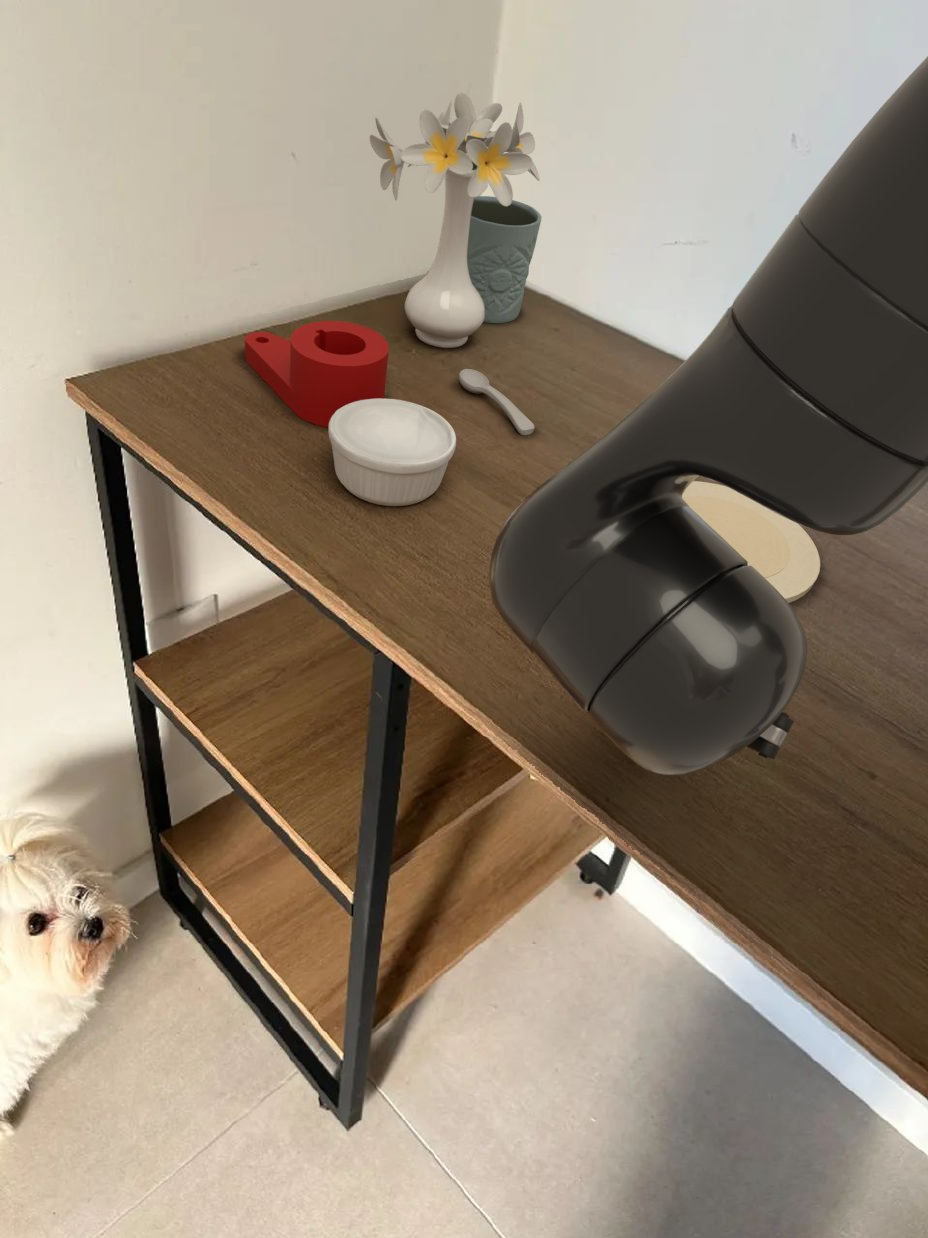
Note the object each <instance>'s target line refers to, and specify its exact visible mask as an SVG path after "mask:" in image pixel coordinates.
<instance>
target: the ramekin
mask: <svg viewBox="0 0 928 1238" xmlns="http://www.w3.org/2000/svg"><path fill="white" fill-rule="evenodd" d="M328 437H329V441H330V443H331V450H332V457H333V463H334V471H335V474H336V477H337V479H338V480H339V482H340V484H341V485H343V487H344V488H345V489H346V490H347V491H348V492H349V493H350V494H352V495H353V496H355V497H357V498H359V499H360V500H363V501H365V502H368V503H371V504H375V505H379V506H385V507H404V506H410V505H415V504H417V503H420V502H422V501H424V500H427V499H428V498H429V497H431V496H432V495H434V494H435V492H436V491H437V490H438V489H439V487H440V485H441V483H442V480H443V478H444V476H445V473H446V470H447V467H448V465H449V462H450V460H451V459H452V458H453V456H454V454H455V452H456V446H457V436H456V432H455V430H454V428H453V426H452V425H451V423H450V422H448V421H447V419H446V418H444V416H442V415H440V414H439V413H438V412H436V411H434V410H432V409H430V408H428V407H425V406H424V405H420V404H418V403H414V402H411V401H407V400H403V399H396V398H384V399H381V398H378V399H366V400H360V401H356V402H353V403H350V404H347V405H345V406H343V407H341V408H340V409H338V410H337V411H336V412H335V413H334V414H333V415H332V417H331V419H330V422H329V428H328Z"/></svg>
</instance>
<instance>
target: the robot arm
mask: <svg viewBox="0 0 928 1238" xmlns="http://www.w3.org/2000/svg"><path fill="white" fill-rule="evenodd" d="M814 188H815V189H813V191H812V192H811V193H810V195H809V197H808V198H807V199H806V200H805V202H804V203H803V205H802V206H801V207H800V208H799V210H798V213H797V214H794V216H793V218H792V220H791V221H790V222H789V224H788V225H787V227H786V228H785V229H784V231H783V232H782V233H781V234H780V236H778V239H777V240H776V241H775V243H774V244H773V245H772V247H771V248H770V250H769V251H768V252H767V254H766V255H765V257H764V258H763V260H761V262H760V263H759V265H758V266H757V267H756V269H755V271H754V272H753V274H751V276H750V278H748V280H747V281H746V283H745V284H744V285H743V287H742V288H741V290H740V291H739V293H738V294H737V295H736V297H735V298H734V300H733V302H732V304H731V305H730V306H729V307H728V308H727V309H726V311H725V312H724V314H723V315H722V316H721V318H720V319H719V321H718V322H717V323H716V325H715V326H714V327H713V328H712V330H711V331H710V332H709V334H708V335H707V336H706V337H705V338H704V340H703V341H702V342H701V344H699V346H698V347H697V348H696V349H695V350H694V351H693V352H692V353H691V354H690V355H689V356H688V358H687V359H685V360H684V362H683V363H682V364H681V365H680V366H678V367H677V369H676V370H675V371H674V372H672V374H671V375H669V376H668V378H666V380H664V381H663V382H662V383H661V384H660V385H659V386H658V387H657V388H656V389H655V390H654V391H653V392H651V394H650V395H649V396H648V397H647V398H646V399H644V400H643V401H642V402H641V403H640V404H639V405H638V406H637V407H636V408H634V409H633V410H632V411H631V412H630V413H629V414H628V415H627V416H626V417H625V418H623V419H622V420H621V421H620V422H619V423H618V424H617V425H615V426H614V427H613V428H612V429H611V430H610V431H609V432H607V433H606V434H605V435H603V436H602V437H601V438H600V439H598V440H597V441H596V442H595V443H594V444H593V445H591V446H590V447H588V448H587V449H586V450H585V451H583V452H582V453H581V454H579V455H578V456H577V457H576V458H574V459H573V460H572V461H570V462H569V463H568V464H567V465H565V466H564V467H563V468H561V469H560V470H559V471H557V472H556V473H555V474H553V475H552V476H550V477H549V478H548V479H547V480H545V482H543V483H542V484H541V485H538V487H537V488H536V489H535V490H533V491H532V492H531V493H530V494H529V495H528V496H527V497H525V499H523V501H521V502H520V503H519V504H518V505H517V506H516V508H514V510H513V511H512V512H511V513H510V514H509V516H508V517H507V519H506V520H505V522H504V523H503V525H502V527H501V528H500V530H499V533H498V535H497V537H496V539H495V542H494V545H493V549H492V552H491V557H490V563H489V568H488V569H489V570H488V571H489V575H488V585H489V592H490V597H491V601H492V603H493V606H494V608H495V610H496V611H497V613H498V615H499V616H500V618H501V619H502V621H503V622H504V624H505V625H506V626H507V627H508V628H509V630H511V632H512V633H513V634H514V636H515V637H517V639H518V640H519V641H520V642H521V643H522V644H523V645H524V647H525V648H526V649H528V651H529V652H530V653H531V654H532V655H533V656H534V657H535V658H536V659H537V661H538V662H539V663H540V664H541V665H542V666H543V667H544V668H545V669H546V670H547V671H548V673H549V674H550V675H551V676H552V678H554V679H555V680H556V681H557V683H558V684H559V685H560V686H561V687H562V688H563V689H564V690H565V691H566V692H567V694H568V695H569V696H570V697H571V698H572V699H573V700H574V701H575V702H576V703H577V704H578V705H579V706H580V707H581V709H582V710H583V711H584V712H585V713H586V714H588V715H589V718H590V719H591V721H593V723H595V725H596V726H597V727H598V728H599V729H600V730H601V732H603V733H604V734H605V736H606V737H607V738H608V739H609V740H610V741H611V742H612V743H613V744H614V745H615V746H616V747H617V748H618V750H619V751H621V752H622V753H623V754H624V755H625V756H626V757H628V758H629V759H630V760H632V762H634V763H635V764H637V765H638V766H639V767H641V768H642V769H644V770H646V771H648V772H650V773H653V774H657V775H663V776H664V775H665V776H678V775H679V776H680V775H687V774H692V773H694V772H695V773H696V772H699V771H702V770H706V769H707V768H710V767H713V766H714V765H717V764H719V763H721V762H723V761H726V760H727V759H729V758H731V757H733V756H734V755H736V754H738V753H740V752H741V751H743V750H744V749H745V748H748V749H750V750H752V751H755V752H757V753H758V755H759V756H760V757H762V758H764V759H768V758H769V759H771V760H775V759H776V756H777V755H778V753H779V751H780V748H781V747H782V745H783V743H784V741H785V739H786V738H787V736H788V733H789V732H790V730H791V728H792V726H793V725H794V722H795V721H794V720H793V719H791V718H790V714H789V715H788V714H787V713H785V712H784V711H785V709H787V706H788V705H789V704H790V703H791V700H792V699H793V697H794V695H795V693H796V691H797V689H798V688H799V686H800V683H801V681H802V678H803V675H804V672H805V669H806V665H807V656H808V642H807V641H808V640H807V637H806V632H805V630H804V627H803V624H802V622H801V621H800V618H799V617H798V615H797V613H796V612H795V610H794V609H793V607H792V605H791V604H790V603H788V602H787V601H786V600H785V598H784V597H783V596H782V595H781V594H780V593H779V592H778V591H777V590H776V589H775V588H774V587H773V586H772V585H771V584H770V583H769V582H768V581H767V580H766V579H765V578H764V577H763V576H762V575H761V574H760V573H759V572H758V571H757V570H756V569H755V568H754V567H752V566H748V562H747V561H746V560H745V559H744V558H743V557H742V556H741V555H740V554H739V553H738V552H737V551H736V550H735V549H734V548H733V547H731V546H730V545H729V544H728V543H727V542H726V541H725V540H724V539H723V538H722V537H721V536H720V535H719V534H718V533H717V532H716V531H715V530H713V529H712V528H711V527H710V526H709V525H708V524H707V523H706V522H705V521H704V520H703V519H702V518H701V517H700V516H699V515H698V514H697V513H695V512H694V511H693V510H692V509H691V508H690V507H689V506H688V504H687V503H686V502H685V501H684V500H683V499H682V495H683V493H684V492H685V490H686V489H687V487H688V486H689V485H690V484H691V483H692V482H693V481H696V479H697V478H698V477H701V478H704V479H707V480H710V481H713V482H714V483H718V484H719V485H723V486H726V487H729V488H731V489H733V490H735V491H736V492H738V493H740V494H742V495H744V496H746V497H748V498H749V499H751V500H753V501H755V502H757V503H759V504H760V505H762V506H764V507H766V508H767V509H769V510H771V511H773V512H774V513H776V514H778V515H780V516H783V517H785V518H787V519H789V520H791V521H793V522H796V523H798V524H799V525H800V526H801V527H804V528H807V529H809V530H813V531H815V532H819V533H823V534H828V535H834V536H853V535H858V534H862V533H865V532H867V531H869V530H871V529H873V528H876V527H878V526H879V525H881V524H882V523H884V522H885V521H887V520H888V519H889V518H890V517H891V516H893V515H894V514H895V513H896V512H898V511H899V510H900V509H902V508H903V507H904V506H905V505H906V504H907V503H908V502H909V501H910V500H911V499H912V498H913V497H914V496H915V495H916V494H917V493H918V492H920V491H921V489H923V487H924V486H926V484H927V483H928V56H926V57H925V58H924V60H923V61H922V62H921V63H920V64H919V65H918V66H917V67H916V68H915V69H914V70H913V72H912V73H910V75H909V76H908V77H907V78H906V79H905V80H904V81H902V83H901V84H900V86H899V87H898V88H897V89H896V90H894V92H893V93H892V94H891V96H889V98H888V99H887V100H886V101H885V102H884V103H883V104H882V106H881V107H880V108H878V110H877V111H876V113H874V114H873V116H872V117H871V118H870V119H869V120H868V122H867V123H866V124H865V125H864V127H863V128H862V129H861V130H860V131H859V132H858V134H857V135H856V136H855V137H854V138H853V139H852V140H851V142H850V144H848V145H847V147H846V148H845V150H844V151H843V152H842V154H841V155H840V156H839V157H838V159H836V161H835V162H834V163H833V165H832V166H831V168H830V169H829V170H828V171H827V173H826V174H825V175H824V176H823V178H822V179H821V180H820V182H819V183H818V184H817V186H816V187H814Z"/></svg>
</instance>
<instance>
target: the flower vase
mask: <svg viewBox="0 0 928 1238" xmlns="http://www.w3.org/2000/svg"><path fill="white" fill-rule="evenodd" d="M453 102H454V103H453ZM452 103H453V105H454V106H453V108H454V113H455V116H454V115H451V109H452ZM502 112H503V105H502V104H501V103H500V102H494V103H491V104H488V105H486V106H485V107H483V109H481V110H480V111H479V112H478V114H477V115H476V109H475V105H474V103H473V101H472V99H471V97H470V96H469V95H467V94H466V93H465V92H460V93H457V94H456V96H455V97H454V101H453V100H452V99H451V100H450V102H449V104H448V106H447V108H446V110H445V113H444V112H441V113H440V114H439V115H438V117H437V116H436V114H435V113H434V112H433V111H431V110H429V109H424V110H422V111H421V113H420V114H419V122H418V123H419V129H420V132H421V135H422V137H423V139H424V142H418V143H413V144H410V145H407V146H406V147H405V148H404V149H402V148H401V147H400V146H399V145H398V144H397V142H396V141H395V140H394V139H393V138H392V137H391V135H390V134H389V133H388V131H387V130H386V128H385V126H384V125H383V124H382V123H381V121H380V119H379V118H378V117H375V118H374V119H375V127H376V130H377V132H378V134H379V136H380V137H378V136H377V135H374V134H370V135H369V143H370V146H371V148H372V150H373V151H374V153H375V154H376V155H377V156H378V157H379V158H380V159H382V160H387V161H385V162H384V163H383V164H382V166H381V169H380V172H379V173H380V174H379V179H380V181H379V182H380V187H381V189H382V190H383V191H386V190H387V189H388V187H389V186H390V184H391V186H392V187H391V189H392V195H393V198H394V200H395V201H397V200H398V194H399V188H400V182H401V177H402V173H403V168H404V165H405V164H406V165H408V166H407V168H410V167H411V166H416V167H417V166H427V167H426V169H425V173H424V177H423V183H424V189H425V190H426V192H427V193H431V194H433V193H435V192H436V191H438V189H439V188H440V186H441V185H442V183H443V181H444V190H445V191H444V206H443V207H444V209H443V214H442V215H443V217H442V222H441V230H440V235H439V236H440V237H439V242H438V246H437V251H436V254H435V259H434V260H433V262H432V264H431V267H430V268H429V270H428V271H427V273H426V275H425V276H424V277H422V278H421V279H420V280H419V281H417V282H416V283H415V284H414V285H413V286H412V287H411V288H410V289H409V291H408V293H407V295H406V298H405V301H404V305H403V306H404V307H403V308H404V312H405V315H406V318H407V319H408V321H409V323H410V324H411V325H412V326H413V327H414V328H415V329H414V330H415V335H416V337H417V338H418V339H419V341H421V342H423V343H424V344H427V345H429V346H432V347H436V348H442V349H451V348H452V349H454V348H459V347H461V346H463V345H465V344H466V343H467V342H468V340H469V336H471V335H473V334H475V333H476V332H477V331H478V330H479V329H480V327H481V326H482V325H483V324H484V323H485V322H484V318H485V306H484V302H483V300H482V298H481V296H480V294H479V292H478V291H477V289H476V288H475V287H474V285H473V284H472V282H471V278H470V275H469V270H468V264H467V250H468V238H469V228H470V219H471V212H472V206H473V202H474V198H475V197H477V196H482V194H483V193H485V192H486V190H487V189H488V187H490V189H491V190H492V193H493V195H494V197H496V198H497V200H498V201H499V202H500V203H501V204H502V205H503V206H509V205H510V204H511V203H512V200H514V191H513V186H512V184H511V181H510V180H509V179H510V178H509V177H508V176H515V175H516V176H517V175H521V174H525V173H526V172H528V173H529V174H531V175H532V176H533V177H534V178H535V179H536V180H537V181H538V182H540V179H541V178H540V175H539V172H538V170H537V167H536V164H535V163H534V161H533V159H532V157H531V156H530V155H529V154H532V153H533V152H534V151H535V149H536V140H535V137H534V135H533V134H532V132H530V131H525V132H523V133H522V131H523V129H524V121H525V120H524V119H525V118H524V110H523V105H522V102H518V107H517V110H516V116H515V119H514V124H513V127H512V125H511V124H510V123H511V122H507V121H504V122H503V123H501V124H500V125H499V126H498V127H497V129H496V130H493V131H492V130H491V129H492V127H493V126H494V123H495V122H496V121H497V120H498V118H499V117H500V115H502ZM506 175H507V176H506Z"/></svg>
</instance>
